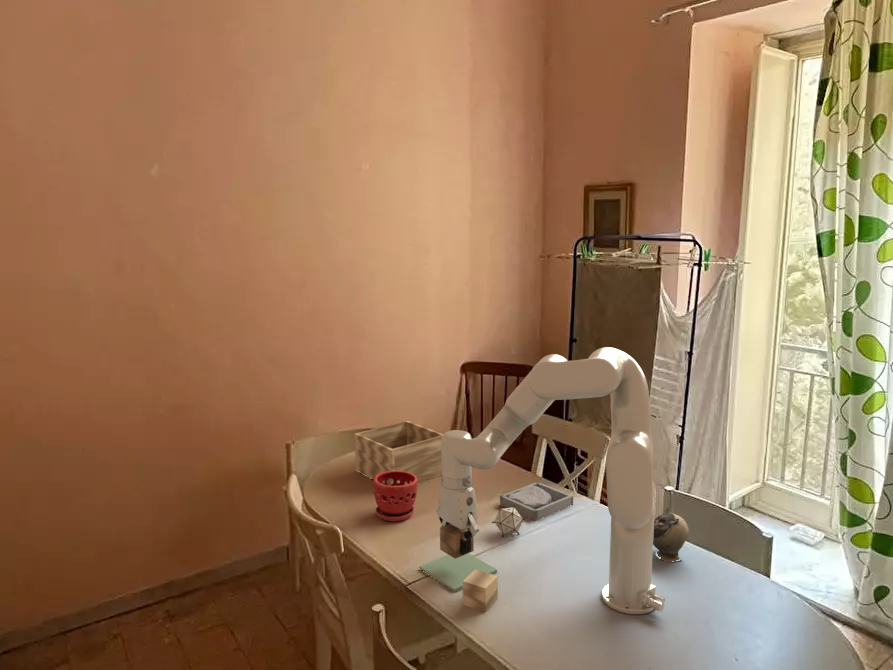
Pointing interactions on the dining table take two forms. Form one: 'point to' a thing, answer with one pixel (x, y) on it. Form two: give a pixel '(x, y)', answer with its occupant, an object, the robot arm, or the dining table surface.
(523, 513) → the slate tray
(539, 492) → the stone block
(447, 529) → the walnut cube
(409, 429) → the wooden crate
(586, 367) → the robot arm
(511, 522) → the game die
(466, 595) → the oak cube
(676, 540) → the brown round clay figure
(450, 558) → the mat
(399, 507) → the plant pot
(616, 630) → the dining table surface
